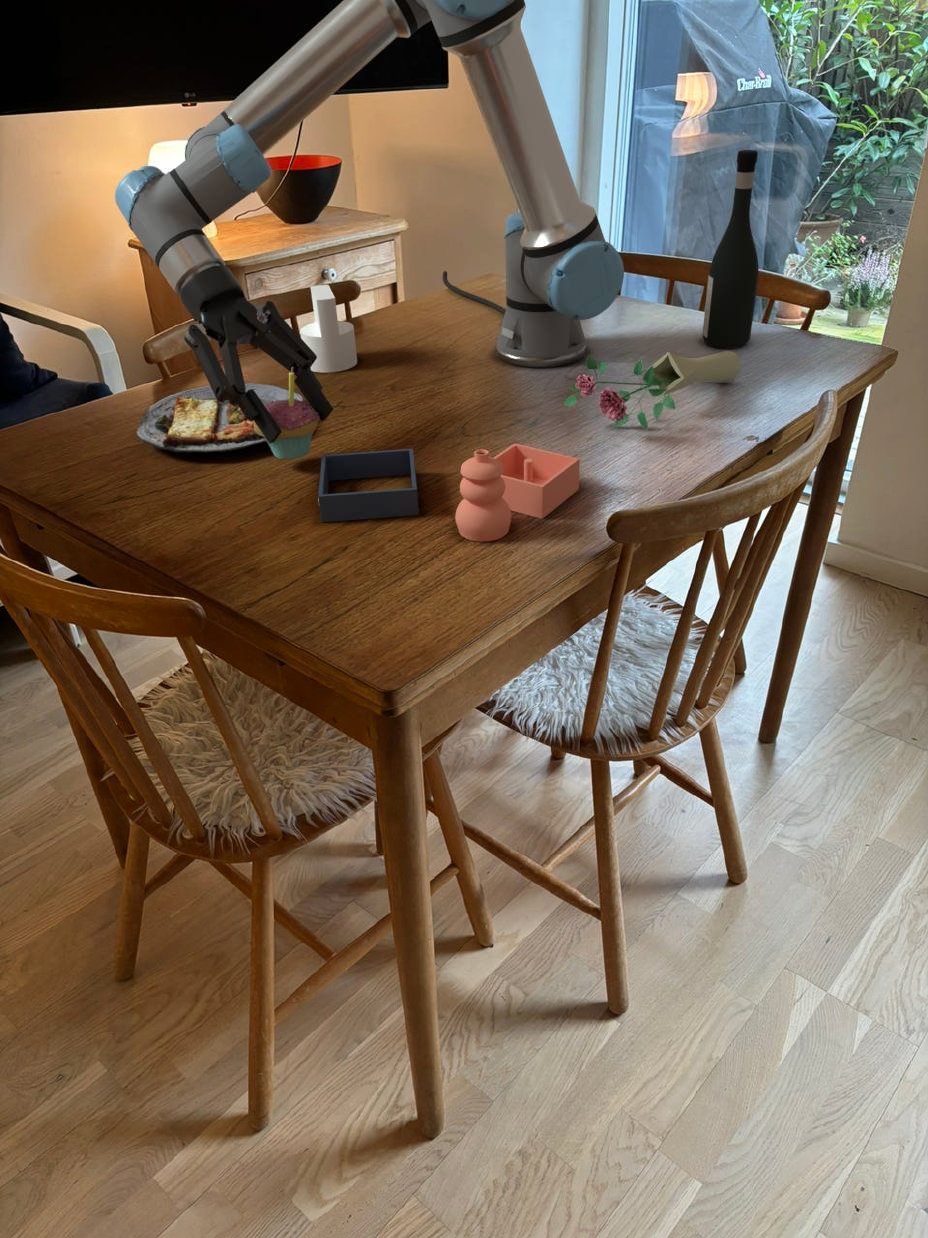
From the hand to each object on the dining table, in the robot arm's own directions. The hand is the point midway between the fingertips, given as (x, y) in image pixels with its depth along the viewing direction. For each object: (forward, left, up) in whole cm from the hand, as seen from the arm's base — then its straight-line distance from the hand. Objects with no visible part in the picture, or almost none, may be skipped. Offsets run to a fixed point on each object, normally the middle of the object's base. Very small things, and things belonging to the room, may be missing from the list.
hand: (302, 426), depth 123 cm
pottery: (+15, +25, -7) cm, 30 cm away
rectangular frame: (+9, +8, -7) cm, 14 cm away
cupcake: (-2, -2, -5) cm, 6 cm away
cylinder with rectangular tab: (-43, +2, -7) cm, 44 cm away
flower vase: (-11, +51, -7) cm, 53 cm away
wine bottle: (-40, +70, -7) cm, 81 cm away
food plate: (-17, -13, -7) cm, 23 cm away
